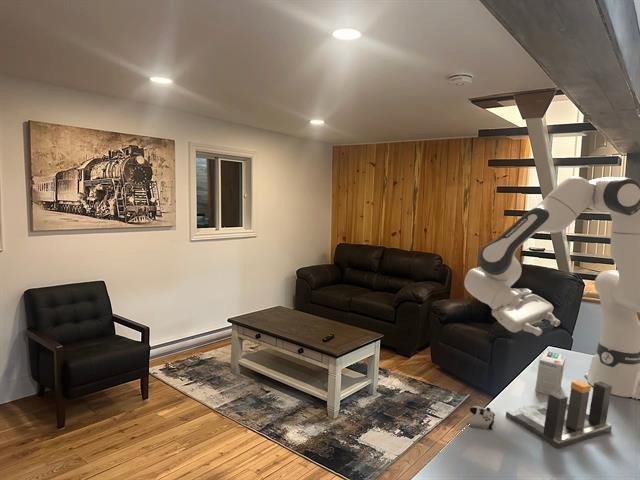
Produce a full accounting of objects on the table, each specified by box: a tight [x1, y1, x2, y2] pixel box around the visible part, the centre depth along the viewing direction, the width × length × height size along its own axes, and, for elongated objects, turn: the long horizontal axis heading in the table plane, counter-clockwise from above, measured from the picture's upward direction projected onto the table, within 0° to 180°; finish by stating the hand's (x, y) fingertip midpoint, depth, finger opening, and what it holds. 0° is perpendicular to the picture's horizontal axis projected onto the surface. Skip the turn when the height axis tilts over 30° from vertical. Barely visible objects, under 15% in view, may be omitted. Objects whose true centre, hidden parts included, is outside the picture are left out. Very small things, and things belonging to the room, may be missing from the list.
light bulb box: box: [534, 350, 566, 396], centre depth 141 cm, size 11×7×11 cm, turn 146°
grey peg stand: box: [505, 382, 613, 450], centre depth 119 cm, size 22×16×12 cm
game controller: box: [465, 405, 496, 430], centre depth 119 cm, size 10×5×6 cm
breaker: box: [566, 379, 592, 431], centre depth 115 cm, size 3×3×12 cm
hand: (549, 328), depth 126 cm, fingers open, 8 cm apart
